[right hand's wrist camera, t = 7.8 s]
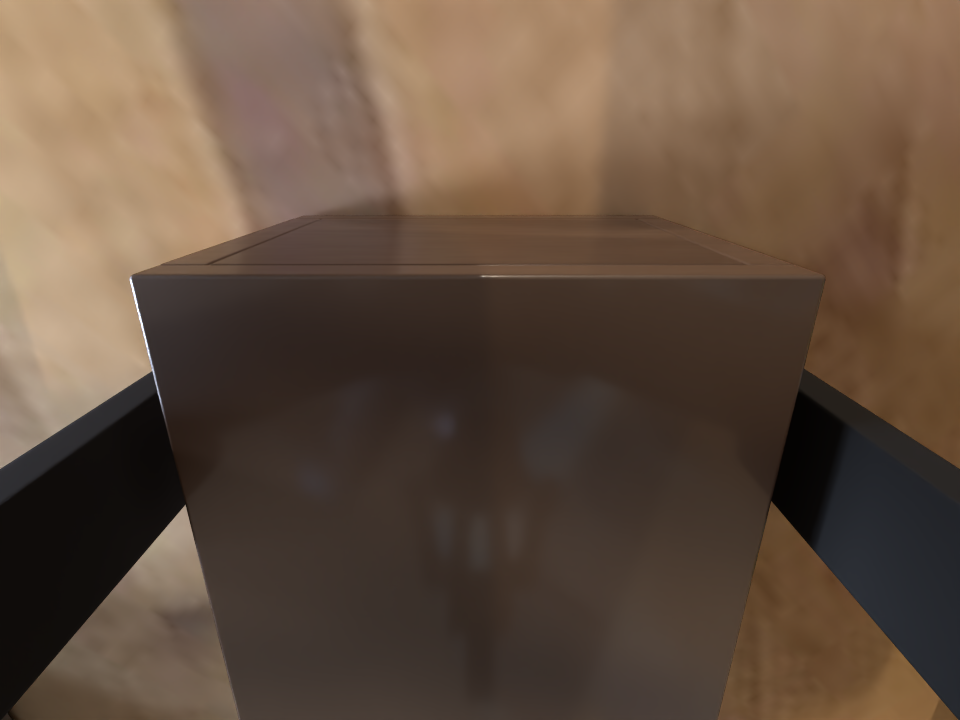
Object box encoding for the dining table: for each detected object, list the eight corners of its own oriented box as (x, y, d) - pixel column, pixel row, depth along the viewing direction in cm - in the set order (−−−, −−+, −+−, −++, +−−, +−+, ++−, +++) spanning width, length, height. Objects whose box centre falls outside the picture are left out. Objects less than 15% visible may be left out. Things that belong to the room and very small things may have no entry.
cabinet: (603, 648, 22) (670, 914, 15) (353, 648, 22) (286, 914, 15) (655, 215, 16) (829, 274, 8) (301, 215, 16) (125, 274, 8)
